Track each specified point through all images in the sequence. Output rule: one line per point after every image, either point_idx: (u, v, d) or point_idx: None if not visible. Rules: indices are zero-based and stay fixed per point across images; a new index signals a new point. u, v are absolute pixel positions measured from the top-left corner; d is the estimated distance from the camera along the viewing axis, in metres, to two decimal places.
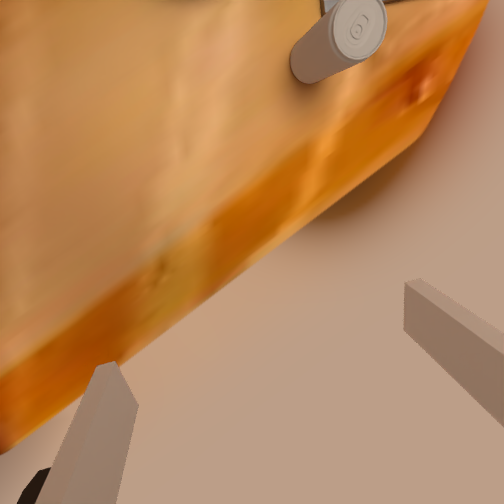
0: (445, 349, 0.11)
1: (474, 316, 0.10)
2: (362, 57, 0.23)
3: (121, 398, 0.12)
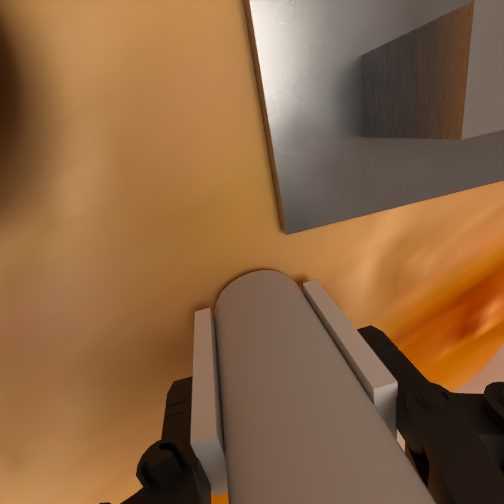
0: None
1: (342, 313, 0.12)
2: None
3: None
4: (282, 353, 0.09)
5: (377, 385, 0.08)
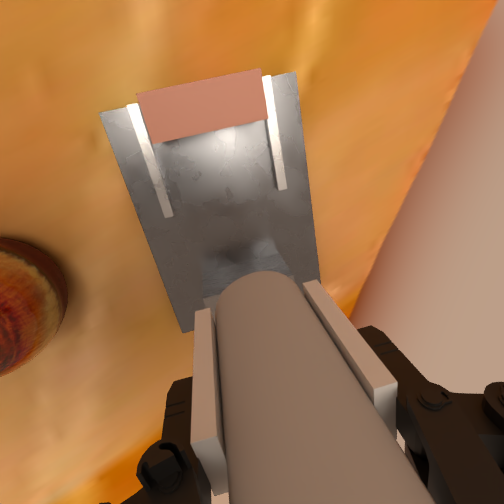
0: None
1: (342, 313, 0.12)
2: None
3: None
4: (282, 354, 0.09)
5: (377, 385, 0.08)
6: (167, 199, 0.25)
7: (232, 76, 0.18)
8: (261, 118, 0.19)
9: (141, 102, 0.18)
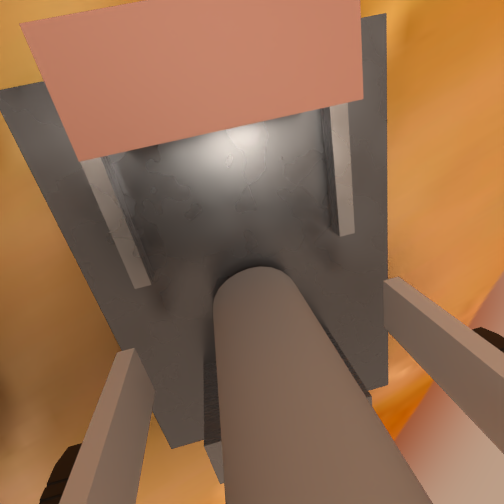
0: (419, 345, 0.12)
1: (445, 313, 0.11)
2: None
3: (140, 383, 0.12)
4: (276, 343, 0.09)
5: None
6: (138, 257, 0.13)
7: None
8: (346, 98, 0.08)
9: (37, 49, 0.07)
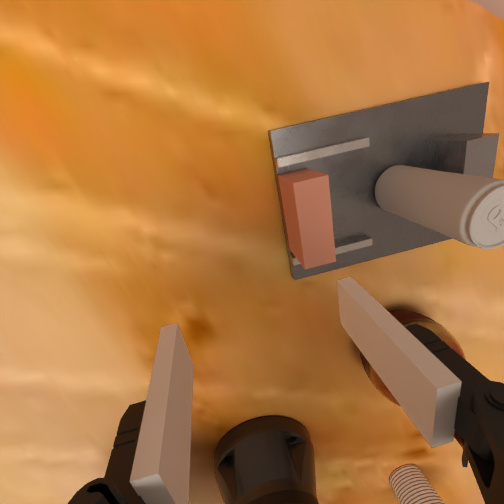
0: (364, 340, 0.12)
1: (385, 310, 0.11)
2: None
3: (184, 354, 0.13)
4: (412, 206, 0.24)
5: (440, 385, 0.08)
6: (359, 242, 0.31)
7: (297, 205, 0.24)
8: (327, 181, 0.23)
9: (310, 266, 0.26)
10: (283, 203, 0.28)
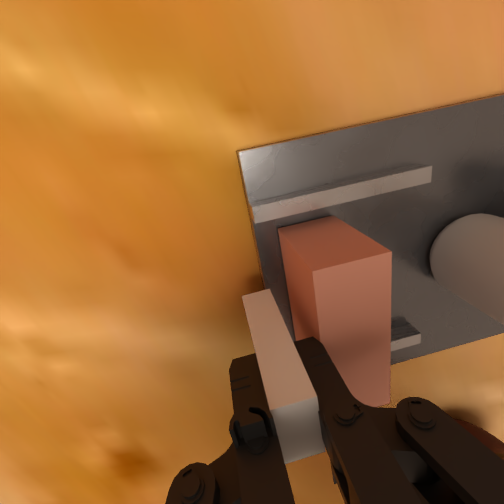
0: None
1: (284, 323, 0.12)
2: None
3: None
4: None
5: (297, 399, 0.09)
6: (398, 340, 0.18)
7: (320, 313, 0.11)
8: (388, 264, 0.10)
9: None
10: (287, 278, 0.15)
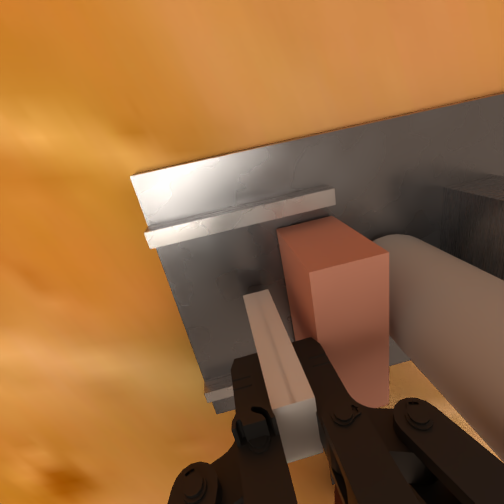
0: None
1: None
2: None
3: None
4: (421, 357, 0.11)
5: (295, 400, 0.09)
6: None
7: (318, 314, 0.11)
8: (386, 265, 0.10)
9: None
10: (286, 279, 0.15)
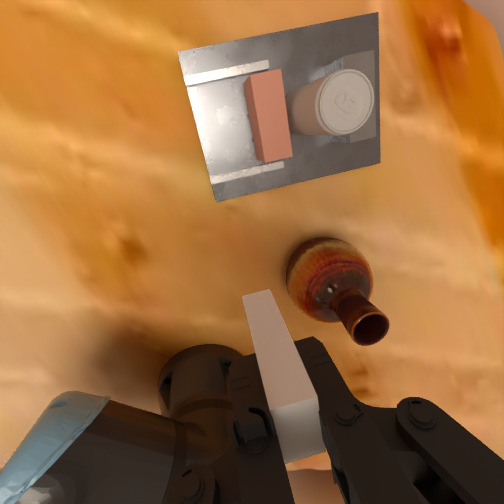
0: None
1: (285, 324, 0.12)
2: (372, 95, 0.23)
3: None
4: (296, 113, 0.27)
5: (297, 399, 0.09)
6: (271, 164, 0.34)
7: (255, 97, 0.27)
8: (280, 74, 0.27)
9: (269, 160, 0.30)
10: (248, 110, 0.32)
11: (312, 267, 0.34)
